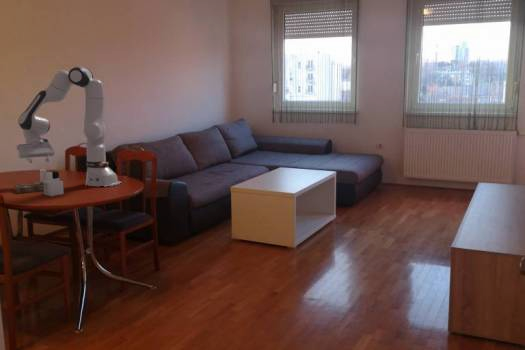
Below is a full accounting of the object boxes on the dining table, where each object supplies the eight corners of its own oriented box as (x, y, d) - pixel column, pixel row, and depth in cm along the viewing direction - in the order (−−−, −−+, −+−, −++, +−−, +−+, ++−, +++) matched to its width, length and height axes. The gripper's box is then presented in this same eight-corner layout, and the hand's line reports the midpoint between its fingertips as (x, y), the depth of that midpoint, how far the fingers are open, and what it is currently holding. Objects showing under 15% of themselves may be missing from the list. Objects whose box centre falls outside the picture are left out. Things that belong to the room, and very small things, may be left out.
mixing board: (50, 186, 321) (50, 181, 321) (55, 189, 312) (55, 184, 312) (15, 190, 310) (14, 184, 309) (19, 193, 301) (18, 187, 300)
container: (56, 192, 305) (55, 170, 303) (63, 194, 300) (62, 171, 298) (43, 194, 299) (42, 171, 297) (51, 196, 294) (49, 173, 292)
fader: (46, 182, 316) (45, 169, 315) (48, 183, 312) (47, 170, 311) (39, 183, 314) (38, 169, 313) (41, 184, 310) (40, 170, 309)
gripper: (16, 141, 316) (21, 159, 310) (52, 139, 327) (57, 157, 321) (15, 148, 320) (20, 166, 314) (50, 145, 332) (55, 163, 326)
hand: (39, 161), depth 318 cm, fingers open, 8 cm apart
